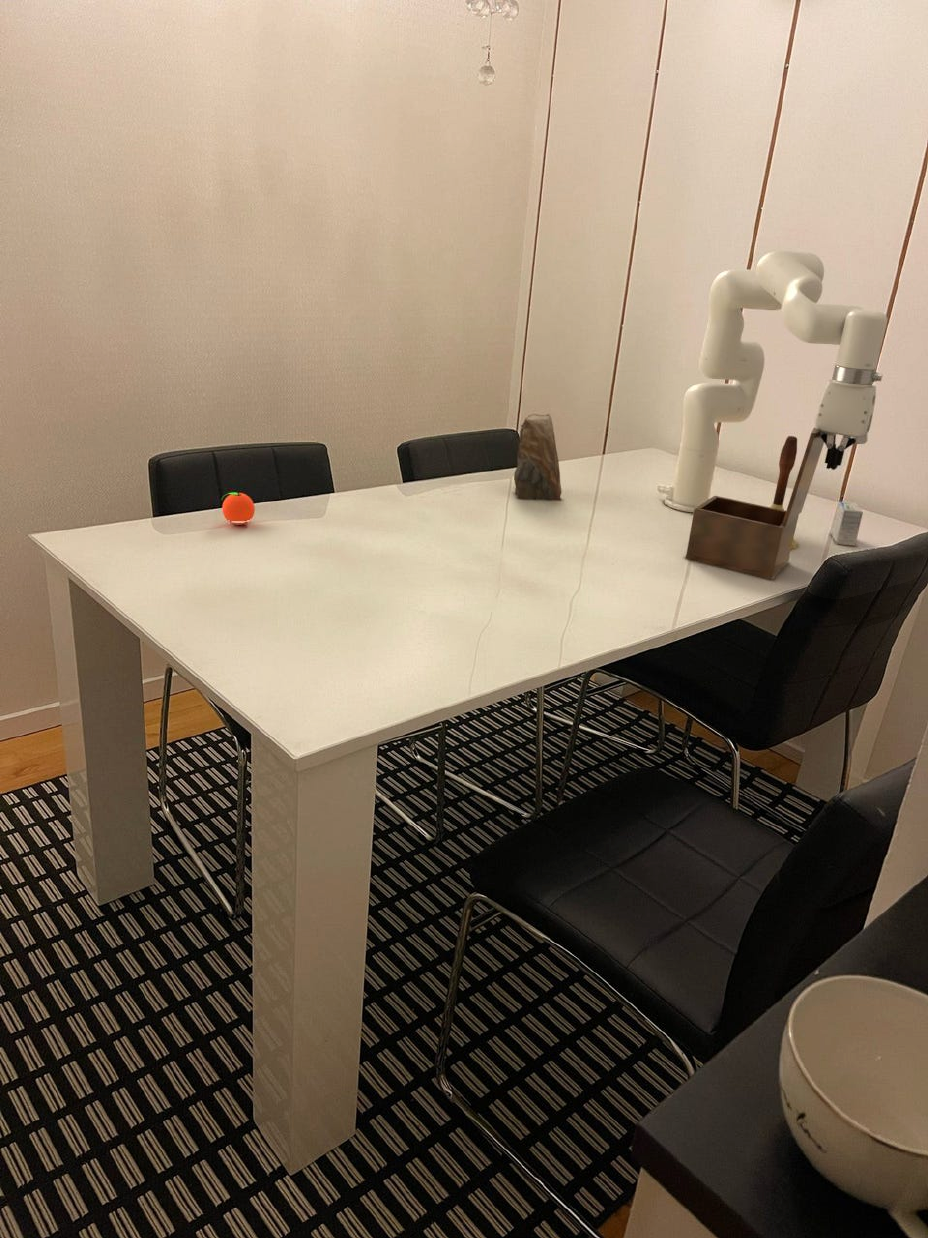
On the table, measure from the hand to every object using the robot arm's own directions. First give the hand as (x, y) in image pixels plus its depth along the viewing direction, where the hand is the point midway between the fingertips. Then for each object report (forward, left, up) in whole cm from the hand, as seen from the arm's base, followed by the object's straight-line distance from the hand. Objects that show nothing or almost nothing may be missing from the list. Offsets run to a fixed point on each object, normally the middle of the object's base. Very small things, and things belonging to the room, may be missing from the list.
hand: (831, 467), depth 191 cm
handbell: (-13, +20, -24) cm, 34 cm away
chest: (-15, 0, -24) cm, 28 cm away
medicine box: (+1, +34, -24) cm, 42 cm away
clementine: (-110, -57, -24) cm, 126 cm away
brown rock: (-72, +13, -24) cm, 77 cm away
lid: (-5, 0, -2) cm, 6 cm away
